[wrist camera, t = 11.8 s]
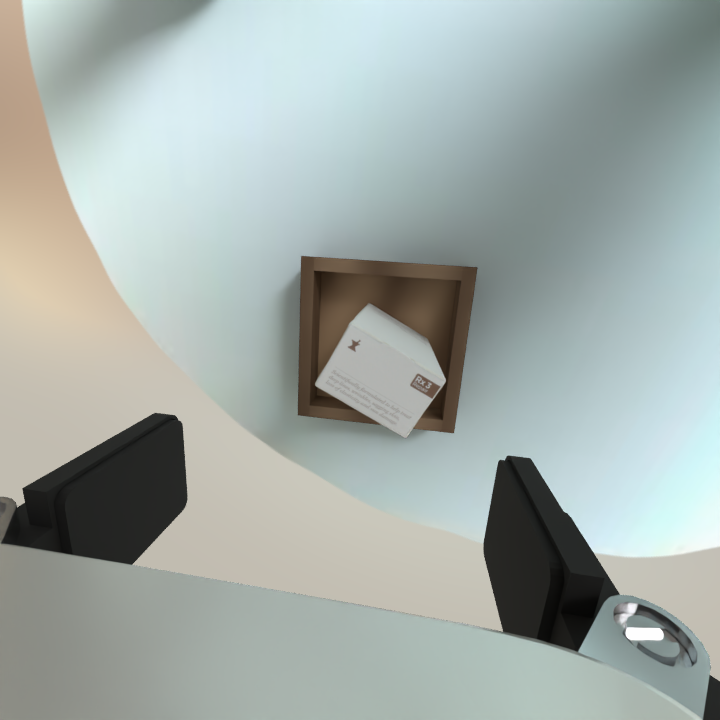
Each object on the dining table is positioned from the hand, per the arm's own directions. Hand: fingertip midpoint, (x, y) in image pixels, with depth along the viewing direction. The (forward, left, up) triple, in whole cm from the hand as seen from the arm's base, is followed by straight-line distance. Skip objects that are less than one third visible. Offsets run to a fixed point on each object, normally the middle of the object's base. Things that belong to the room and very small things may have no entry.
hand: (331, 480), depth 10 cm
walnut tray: (0, 0, -22) cm, 22 cm away
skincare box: (0, 0, -21) cm, 21 cm away
